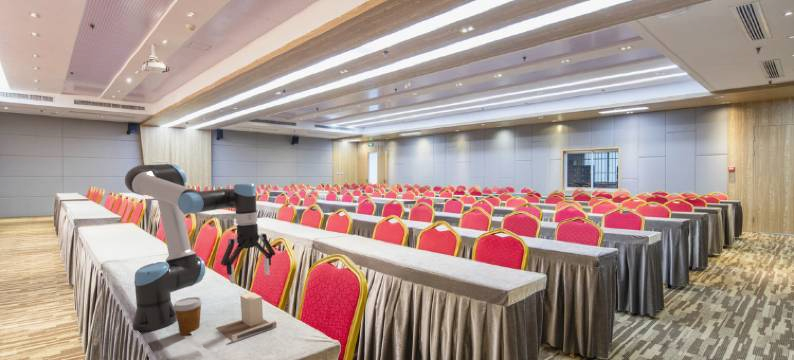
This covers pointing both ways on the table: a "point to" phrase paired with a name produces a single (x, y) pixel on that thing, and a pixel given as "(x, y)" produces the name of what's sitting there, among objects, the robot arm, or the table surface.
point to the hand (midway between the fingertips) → (250, 278)
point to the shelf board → (244, 329)
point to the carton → (251, 309)
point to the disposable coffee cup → (188, 314)
